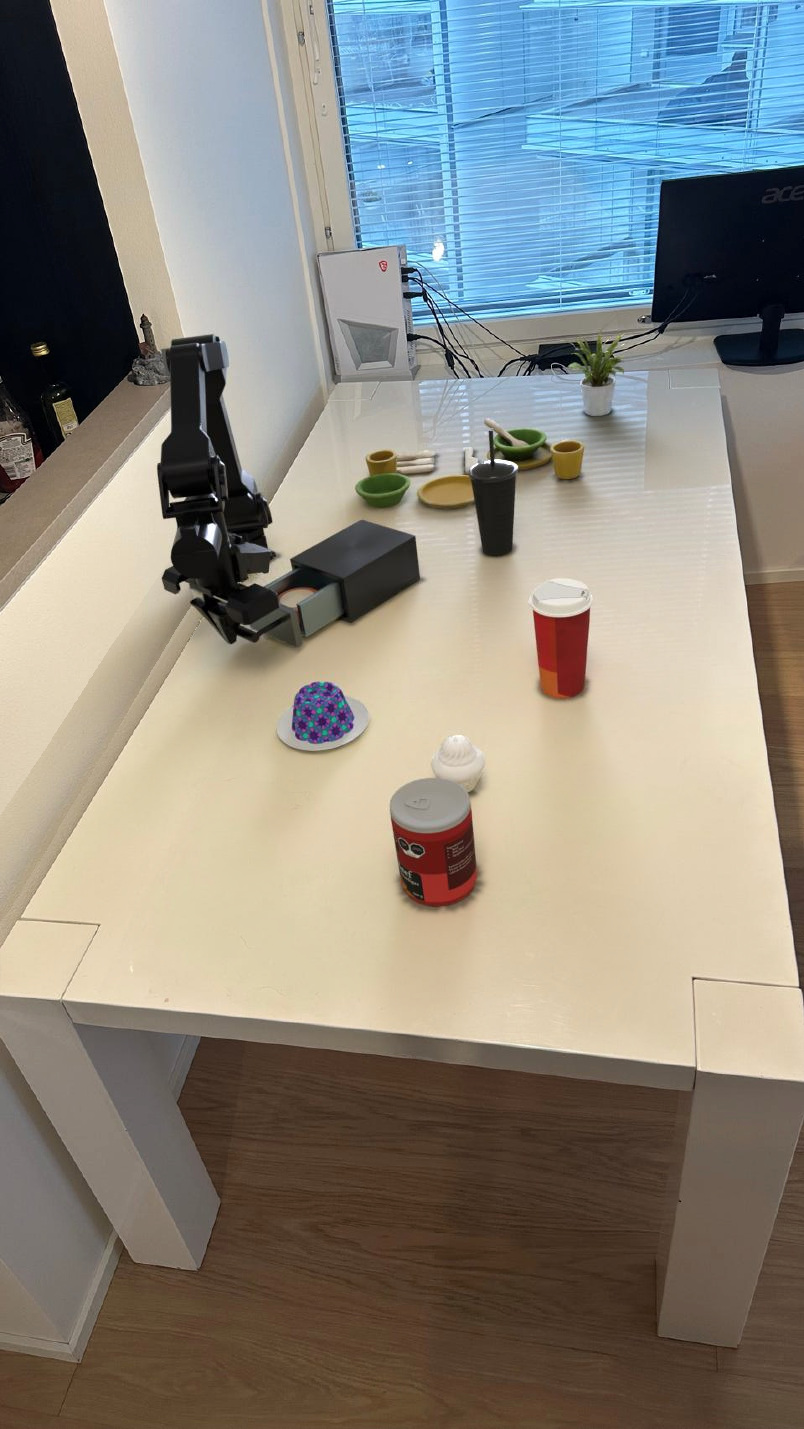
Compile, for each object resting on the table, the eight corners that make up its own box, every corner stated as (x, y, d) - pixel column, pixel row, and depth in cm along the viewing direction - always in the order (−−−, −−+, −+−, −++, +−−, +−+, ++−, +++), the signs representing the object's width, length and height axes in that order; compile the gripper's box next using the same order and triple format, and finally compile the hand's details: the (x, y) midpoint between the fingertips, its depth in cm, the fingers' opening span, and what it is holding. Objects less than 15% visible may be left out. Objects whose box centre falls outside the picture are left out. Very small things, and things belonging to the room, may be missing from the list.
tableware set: (577, 441, 196) (577, 409, 193) (589, 502, 174) (589, 467, 170) (368, 458, 201) (364, 427, 198) (354, 519, 179) (349, 485, 175)
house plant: (554, 426, 204) (553, 344, 195) (558, 402, 215) (556, 323, 206) (627, 423, 201) (629, 340, 192) (626, 399, 212) (628, 319, 203)
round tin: (268, 617, 150) (265, 602, 148) (301, 598, 153) (298, 582, 152) (299, 630, 146) (296, 614, 144) (332, 610, 149) (330, 594, 148)
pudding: (348, 761, 123) (342, 727, 120) (261, 748, 127) (253, 714, 124) (384, 704, 132) (379, 671, 129) (301, 694, 136) (294, 661, 133)
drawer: (267, 667, 141) (259, 631, 137) (220, 645, 147) (211, 611, 143) (367, 604, 152) (362, 570, 149) (320, 586, 158) (314, 553, 155)
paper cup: (597, 672, 132) (598, 578, 124) (586, 706, 127) (586, 609, 119) (539, 666, 135) (536, 574, 127) (525, 699, 129) (521, 604, 121)
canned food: (398, 860, 108) (386, 782, 102) (472, 850, 108) (464, 771, 102) (404, 913, 102) (391, 833, 95) (482, 903, 102) (475, 822, 95)
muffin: (434, 770, 120) (428, 723, 116) (486, 767, 119) (482, 720, 115) (433, 805, 115) (427, 757, 111) (487, 802, 114) (483, 753, 110)
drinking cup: (518, 560, 160) (513, 438, 148) (470, 560, 162) (461, 440, 150) (523, 538, 166) (518, 419, 154) (477, 538, 167) (469, 421, 156)
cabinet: (350, 623, 150) (343, 578, 145) (298, 602, 157) (289, 558, 152) (420, 579, 158) (415, 535, 154) (367, 561, 165) (361, 519, 161)
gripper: (299, 534, 132) (318, 636, 141) (211, 504, 143) (233, 600, 152) (234, 569, 126) (258, 673, 135) (147, 535, 137) (174, 633, 146)
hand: (231, 642), depth 142 cm, fingers closed, pressing on drawer
